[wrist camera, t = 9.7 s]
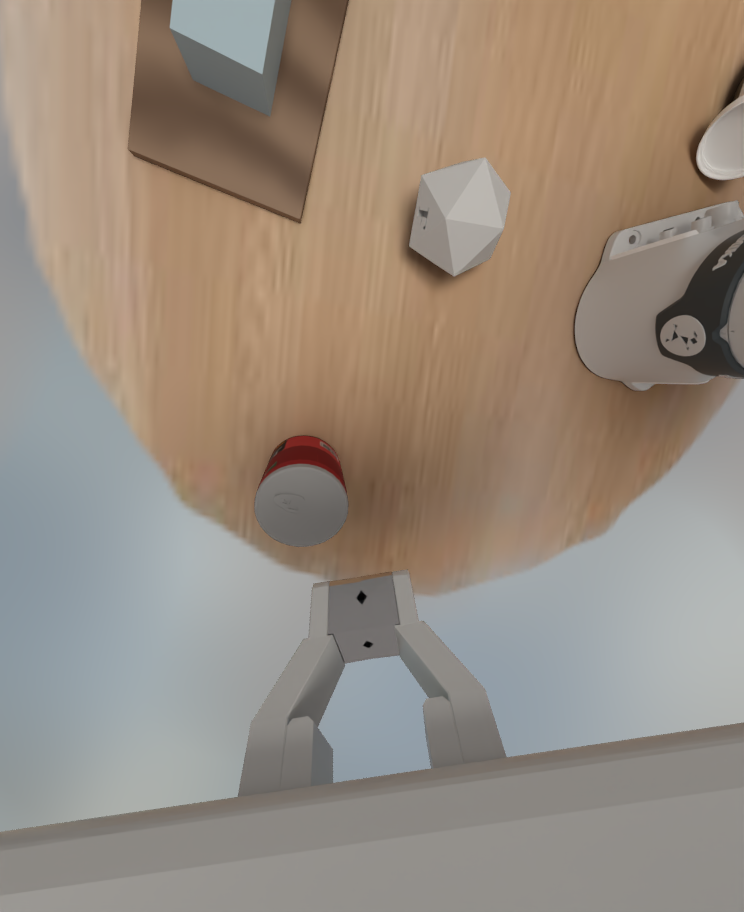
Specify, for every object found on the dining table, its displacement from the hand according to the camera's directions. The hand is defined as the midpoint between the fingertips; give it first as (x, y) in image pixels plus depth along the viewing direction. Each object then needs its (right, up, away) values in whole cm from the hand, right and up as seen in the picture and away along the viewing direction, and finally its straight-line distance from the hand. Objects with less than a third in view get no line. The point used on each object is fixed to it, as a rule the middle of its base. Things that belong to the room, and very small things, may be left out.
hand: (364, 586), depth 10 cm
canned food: (-8, +3, +28) cm, 29 cm away
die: (+7, +27, +23) cm, 36 cm away
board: (-10, +37, +16) cm, 42 cm away
